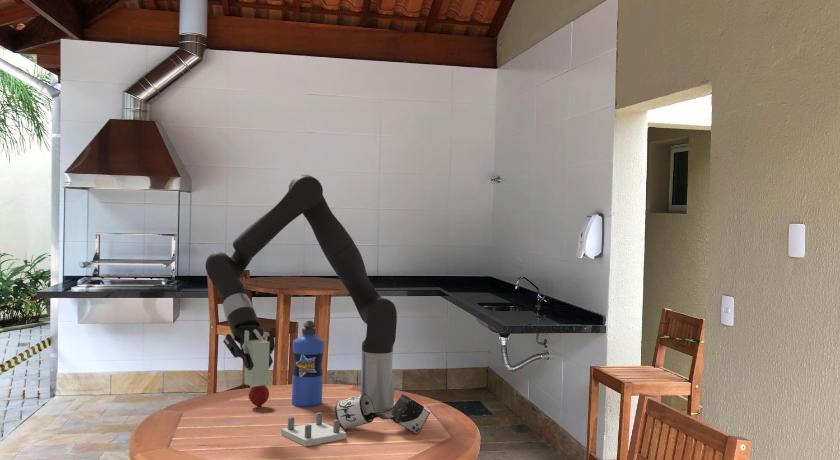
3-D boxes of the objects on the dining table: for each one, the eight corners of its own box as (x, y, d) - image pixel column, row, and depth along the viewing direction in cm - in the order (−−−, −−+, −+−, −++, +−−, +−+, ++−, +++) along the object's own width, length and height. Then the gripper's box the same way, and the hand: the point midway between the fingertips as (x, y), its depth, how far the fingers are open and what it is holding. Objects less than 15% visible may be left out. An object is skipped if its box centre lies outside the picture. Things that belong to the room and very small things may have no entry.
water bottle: (319, 408, 217) (322, 323, 217) (288, 407, 217) (291, 322, 217) (324, 400, 226) (326, 319, 226) (294, 399, 227) (296, 318, 226)
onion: (263, 410, 213) (264, 382, 213) (245, 408, 214) (246, 381, 214) (271, 405, 218) (272, 378, 218) (253, 404, 219) (254, 377, 219)
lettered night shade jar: (332, 435, 191) (333, 397, 191) (336, 425, 201) (337, 388, 201) (430, 438, 191) (431, 399, 191) (429, 427, 201) (430, 391, 201)
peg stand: (320, 427, 197) (321, 410, 197) (345, 438, 188) (346, 421, 188) (281, 434, 189) (281, 417, 189) (305, 446, 180) (305, 428, 180)
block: (260, 381, 192) (261, 339, 192) (268, 384, 188) (269, 342, 188) (244, 383, 189) (245, 340, 189) (252, 386, 185) (253, 343, 185)
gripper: (219, 307, 190) (239, 361, 180) (269, 304, 199) (290, 355, 190) (210, 324, 194) (229, 379, 185) (259, 321, 203) (280, 372, 194)
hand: (260, 367), depth 187 cm, fingers closed on block, 4 cm apart
